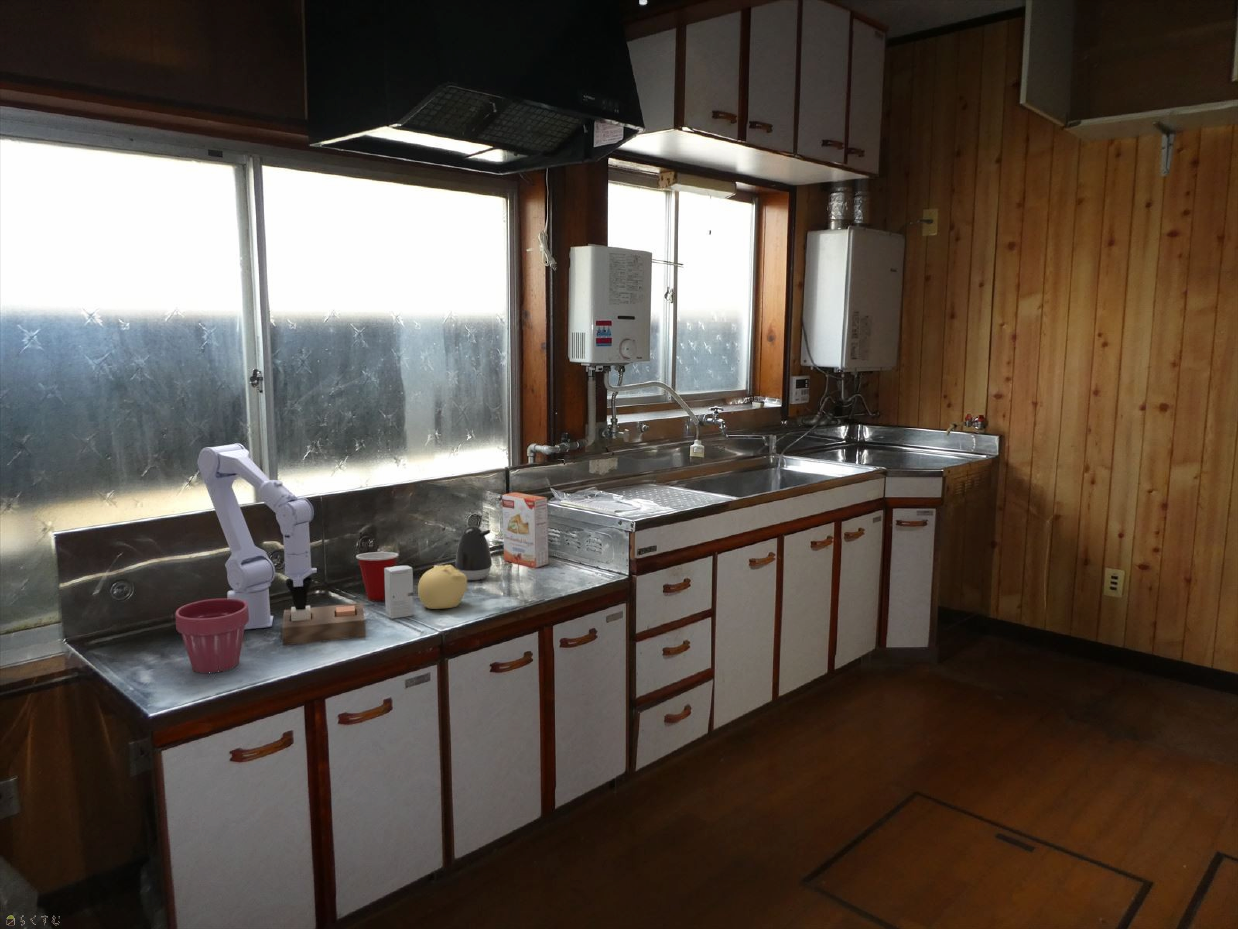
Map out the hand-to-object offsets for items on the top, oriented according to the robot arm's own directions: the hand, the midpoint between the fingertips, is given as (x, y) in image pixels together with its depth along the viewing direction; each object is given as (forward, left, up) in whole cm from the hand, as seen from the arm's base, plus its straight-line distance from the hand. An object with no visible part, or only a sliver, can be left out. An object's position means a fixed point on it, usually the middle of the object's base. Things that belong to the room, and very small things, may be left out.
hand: (300, 608), depth 214 cm
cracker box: (+63, +47, -6) cm, 79 cm away
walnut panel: (+5, 0, -6) cm, 8 cm away
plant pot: (-17, -16, -6) cm, 24 cm away
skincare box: (+23, +7, -6) cm, 25 cm away
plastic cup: (+19, +24, -6) cm, 31 cm away
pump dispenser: (+46, +35, -6) cm, 58 cm away
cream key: (0, 0, -3) cm, 3 cm away
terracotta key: (+10, 0, -5) cm, 11 cm away
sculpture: (+34, +11, -6) cm, 36 cm away
